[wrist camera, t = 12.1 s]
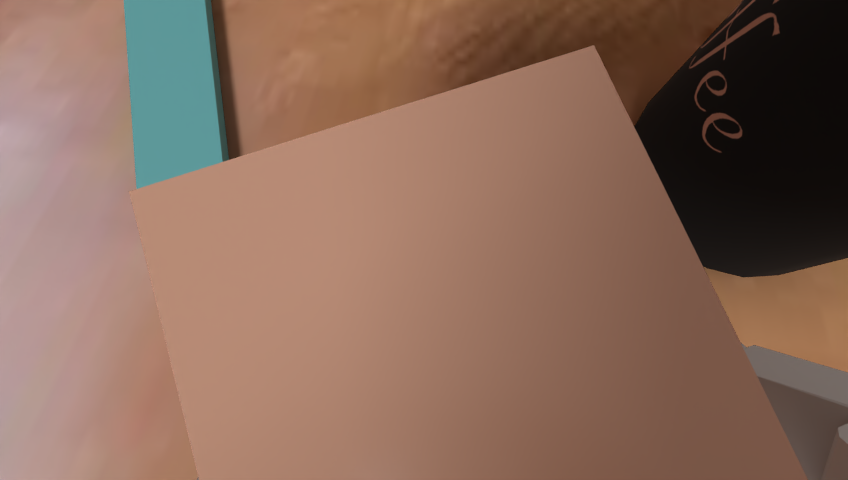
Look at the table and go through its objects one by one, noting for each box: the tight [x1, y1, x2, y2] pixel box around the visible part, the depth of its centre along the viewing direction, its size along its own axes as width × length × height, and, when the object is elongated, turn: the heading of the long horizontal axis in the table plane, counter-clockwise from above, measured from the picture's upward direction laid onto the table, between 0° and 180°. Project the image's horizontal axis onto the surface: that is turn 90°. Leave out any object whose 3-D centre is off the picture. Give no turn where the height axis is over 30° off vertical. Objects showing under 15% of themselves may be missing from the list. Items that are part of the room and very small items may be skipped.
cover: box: [129, 45, 808, 480], centre depth 11 cm, size 6×6×10 cm
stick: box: [124, 0, 229, 189], centre depth 26 cm, size 4×12×2 cm, turn 11°
